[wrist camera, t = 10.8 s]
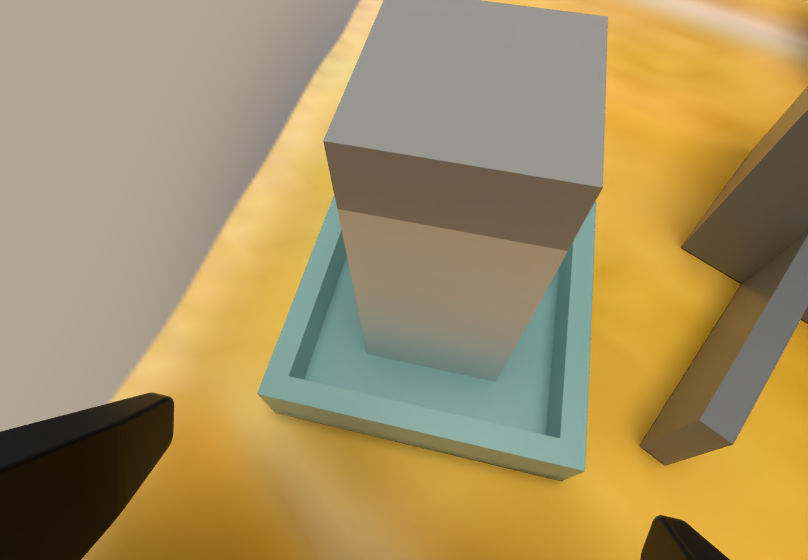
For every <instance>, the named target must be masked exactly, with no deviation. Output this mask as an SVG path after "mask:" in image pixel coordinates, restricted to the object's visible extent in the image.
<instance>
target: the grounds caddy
mask: <svg viewBox="0 0 808 560" xmlns="http://www.w3.org/2000/svg"><path fill="white" fill-rule="evenodd" d="M607 29H608V17H606V16H598V15H590V14H583V13H575V12H567V11H559V10H551V9H543V8H535V7H527V6H520V5H512V4H504V3H496V2H488V1H480V0H384V1H383V3H382V5H381V8H380V10H379V12H378V15H377V17H376V19H375V22H374V24H373V26H372V29H371V31H370V33H369V36H368V38H367V40H366V43H365V45H364V47H363V50H362V52H361V54H360V57H359V59H358V61H357V64H356V66H355V68H354V71H353V73H352V75H351V78H350V80H349V82H348V85H347V87H346V89H345V92H344V94H343V96H342V99H341V101H340V103H339V106H338V108H337V110H336V113H335V115H334V117H333V120H332V122H331V124H330V127H329V129H328V131H327V134H326V136H325V138H324V146H325V151H326V156H327V161H328V166H329V171H330V176H331V181H332V185H333V190H334V195H335V200H336V205H337V210H338V215H339V220H340V225H341V230H342V234H343V239H344V244H345V249H346V254H347V259H348V264H349V269H350V274H351V279H352V284H353V288H354V293H355V298H356V303H357V308H358V313H359V318H360V323H361V328H362V333H363V338H364V342H365V347H366V352H367V354H370V355H374V356H379V357H384V358H388V359H393V360H397V361H402V362H407V363H411V364H416V365H420V366H425V367H429V368H434V369H439V370H443V371H448V372H452V373H457V374H462V375H466V376H471V377H475V378H480V379H485V380H489V381H494V382H496V381H497V379H498V378H499V376H500V374H501V372H502V370H503V368H504V367H505V365H506V363H507V361H508V359H509V358H510V356H511V354H512V352H513V350H514V348H515V347H516V345H517V343H518V341H519V339H520V337H521V336H522V334H523V332H524V330H525V328H526V327H527V325H528V323H529V321H530V319H531V317H532V316H533V314H534V312H535V310H536V308H537V306H538V305H539V303H540V301H541V299H542V297H543V296H544V294H545V292H546V290H547V288H548V286H549V285H550V283H551V281H552V279H553V277H554V275H555V274H556V272H557V270H558V268H559V266H560V265H561V263H562V261H563V259H564V257H565V255H566V254H567V252H568V250H569V248H570V246H571V244H572V243H573V241H574V239H575V237H576V235H577V234H578V232H579V230H580V228H581V226H582V224H583V223H584V221H585V219H586V217H587V215H588V213H589V212H590V210H591V208H592V206H593V204H594V203H595V201H596V199H597V197H598V195H599V193H600V192H601V190H602V188H603V162H604V129H605V95H606V62H607Z"/></svg>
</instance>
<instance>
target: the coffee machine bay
mask: <svg viewBox="0 0 808 560" xmlns="http://www.w3.org/2000/svg"><path fill="white" fill-rule="evenodd" d="M681 248H683V249H685V250H686V251H688V252H690V253H691V254H693V255H695V256H696V257H698V258H700V259H701V260H703V261H705V262H706V263H708V264H710V265H711V266H713V267H715V268H716V269H718V270H720V271H721V272H723V273H725V274H726V275H728V276H730V277H731V278H733V279H735V280H736V281H738V282H740V283H741V286H740V287H739V289H738V290H737V292H736V294H735V295H734V297H733V298H732V300H731V302H730V303H729V305H728V306H727V308H726V310H725V311H724V313H723V314H722V316H721V317H720V319H719V321H718V322H717V324H716V325H715V327H714V329H713V330H712V332H711V333H710V335H709V337H708V338H707V340H706V341H705V343H704V344H703V346H702V348H701V349H700V351H699V352H698V354H697V356H696V357H695V359H694V360H693V362H692V364H691V365H690V367H689V368H688V370H687V371H686V373H685V375H684V376H683V378H682V379H681V381H680V383H679V384H678V386H677V387H676V389H675V391H674V392H673V394H672V395H671V397H670V398H669V400H668V402H667V403H666V405H665V406H664V408H663V410H662V411H661V413H660V414H659V416H658V418H657V419H656V421H655V422H654V424H653V425H652V427H651V429H650V430H649V432H648V433H647V435H646V437H645V438H644V440H643V441H642V443H641V444H640V446H641V447H642V448H643V449H644V450H646V451H647V452H648V453H650V454H651V455H652V456H654V457H655V458H656V459H657V460H659V461H660V462H661V463H663V464H664V465H668V464H672V463H675V462H678V461H681V460H684V459H688V458H691V457H694V456H697V455H700V454H704V453H707V452H710V451H713V450H717V449H720V448H723V447H726V446H729V445H733V444H734V442H735V440H736V438H737V436H738V435H739V433H740V431H741V429H742V427H743V425H744V423H745V422H746V420H747V418H748V416H749V414H750V412H751V410H752V409H753V407H754V405H755V403H756V401H757V399H758V397H759V395H760V394H761V392H762V390H763V388H764V386H765V384H766V382H767V381H768V379H769V377H770V375H771V373H772V371H773V369H774V368H775V366H776V364H777V362H778V360H779V358H780V356H781V355H782V353H783V351H784V349H785V347H786V345H787V343H788V342H789V340H790V338H791V336H792V334H793V332H794V330H795V329H796V327H797V325H798V323H799V321H800V319H802V320H803V321H805V322H807V323H808V87H807V88H806V89H805V90H804V91H803V92H802V94H801V95H800V96H799V97H798V98H797V99H796V100H795V102H794V103H793V104H792V105H791V106H790V107H789V108H788V110H787V111H786V112H785V113H784V114H783V115H782V116H781V118H780V119H779V120H778V121H777V122H776V123H775V124H774V126H773V127H772V128H771V129H770V130H769V131H768V132H767V134H766V135H765V136H764V137H763V138H762V139H761V140H760V142H759V143H758V144H757V145H756V146H755V147H754V149H753V150H752V151H751V152H750V154H749V155H748V156H747V158H746V159H745V161H744V162H743V163H742V165H741V166H740V167H739V169H738V170H737V171H736V173H735V174H734V176H733V177H732V178H731V180H730V181H729V182H728V184H727V185H726V186H725V188H724V189H723V191H722V192H721V193H720V195H719V196H718V197H717V199H716V200H715V201H714V203H713V204H712V206H711V207H710V208H709V210H708V211H707V212H706V214H705V215H704V216H703V218H702V219H701V221H700V222H699V223H698V225H697V226H696V227H695V229H694V230H693V232H692V233H691V234H690V236H689V237H688V238H687V240H686V241H685V242H684V244H683V245H682V247H681Z"/></svg>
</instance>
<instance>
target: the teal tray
mask: <svg viewBox="0 0 808 560" xmlns="http://www.w3.org/2000/svg"><path fill="white" fill-rule="evenodd" d="M595 215H596V202H595V203H594V204H593V206H592V208H591V210H590V212H589V213H588V215H587V217H586V219H585V221H584V223H583V224H582V226H581V228H580V230H579V232H578V234H577V235H576V237H575V239H574V241H573V243H572V244H571V246H570V248H569V250H568V252H567V254H566V255H565V257H564V259H563V261H562V263H561V265H560V266H559V268H558V270H557V272H556V274H555V275H554V277H553V279H552V281H551V283H550V285H549V286H548V288H547V290H546V292H545V294H544V296H543V297H542V299H541V301H540V303H539V305H538V306H537V308H536V310H535V312H534V314H533V316H532V317H531V319H530V321H529V323H528V325H527V327H526V328H525V330H524V332H523V334H522V336H521V337H520V339H519V341H518V343H517V345H516V347H515V348H514V350H513V352H512V354H511V356H510V358H509V359H508V361H507V363H506V365H505V367H504V368H503V370H502V372H501V374H500V376H499V378H498V379H497V381H496V382H494V381H489V380H485V379H480V378H475V377H471V376H466V375H462V374H457V373H452V372H448V371H443V370H439V369H434V368H429V367H425V366H420V365H416V364H411V363H407V362H402V361H397V360H393V359H388V358H384V357H379V356H374V355H370V354H367V352H366V347H365V342H364V338H363V333H362V328H361V323H360V318H359V313H358V308H357V303H356V298H355V293H354V288H353V284H352V279H351V274H350V269H349V264H348V259H347V254H346V249H345V244H344V239H343V234H342V230H341V225H340V220H339V215H338V210H337V205H336V200H335V195H334V197H333V199H332V202H331V205H330V207H329V210H328V212H327V215H326V218H325V220H324V223H323V225H322V228H321V230H320V233H319V236H318V238H317V241H316V243H315V246H314V249H313V251H312V254H311V256H310V259H309V262H308V264H307V267H306V269H305V272H304V274H303V277H302V280H301V282H300V285H299V287H298V290H297V293H296V295H295V298H294V300H293V303H292V305H291V308H290V311H289V313H288V316H287V318H286V321H285V324H284V326H283V329H282V331H281V334H280V337H279V339H278V342H277V344H276V347H275V349H274V352H273V355H272V357H271V360H270V362H269V365H268V368H267V370H266V373H265V375H264V378H263V380H262V383H261V386H260V388H259V391H258V393H257V394H258V395H259V396H260V397H261V398H262V399H263V400H264V401H265V402H266V403H267V404H268V405H269V406H270V407H271V408H272V409H273V410H274V411H275V412H276V413H280V414H284V415H288V416H292V417H296V418H300V419H305V420H309V421H313V422H317V423H321V424H326V425H330V426H334V427H338V428H342V429H346V430H351V431H355V432H359V433H363V434H367V435H371V436H376V437H380V438H384V439H388V440H392V441H396V442H401V443H405V444H409V445H413V446H417V447H422V448H426V449H430V450H434V451H438V452H442V453H447V454H451V455H455V456H459V457H463V458H467V459H472V460H476V461H480V462H484V463H488V464H492V465H497V466H501V467H505V468H509V469H513V470H518V471H522V472H526V473H530V474H534V475H538V476H543V477H547V478H551V479H555V480H559V481H563V480H565V479H568V478H570V477H572V476H575V475H577V474H580V473H582V472H584V471H585V462H586V437H587V413H588V388H589V363H590V339H591V314H592V289H593V265H594V240H595Z"/></svg>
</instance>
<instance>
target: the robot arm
mask: <svg viewBox="0 0 808 560" xmlns="http://www.w3.org/2000/svg"><path fill="white" fill-rule="evenodd" d="M173 427H174V402H173V399H172V398H171V397H169V396H165V395H161V394H157V393H147V394H143V395H139V396H136V397H132V398H128V399H124V400H120V401H116V402H113V403H109V404H105V405H101V406H98V407H93V408H89V409H86V410H82V411H78V412H74V413H70V414H67V415H63V416H59V417H55V418H51V419H47V420H43V421H40V422H36V423H32V424H29V425H24V426H20V427H17V428H13V429H9V430H5V431H1V432H0V560H81V559H82V558H83V557H84V556H85V554H86V553H87V552H88V551H89V550H90V549H91V547H92V546H93V545H94V544H95V543H96V542H97V541H98V539H99V538H100V537H101V536H102V535H103V534H104V533H105V531H106V530H107V529H108V528H109V527H110V526H111V524H112V523H113V522H114V521H115V520H116V518H117V517H118V516H119V515H120V513H121V512H122V511H123V509H124V508H125V507H126V505H127V504H128V503H129V501H130V500H131V499H132V497H133V496H134V494H135V493H136V492H137V490H138V489H139V487H140V486H141V485H142V483H143V482H144V481H145V479H146V478H147V476H148V475H149V474H150V472H151V471H152V469H153V468H154V467H155V465H156V464H157V462H158V461H159V460H160V458H161V457H162V456H163V454H164V453H165V451H166V450H167V449H168V447H169V445H170V443H171V441H172V438H173ZM641 560H729V559H728V558H727V557H726V556H725V555H724V554H722V553H721V552H720V551H719V550H718V549H717V548H715V547H714V546H713V545H712V544H711V543H710V542H708V541H707V540H706V539H705V538H704V537H702V536H701V535H700V534H699V533H698V532H697V531H695V530H694V529H693V528H692V527H691V526H690V525H688V524H687V523H686V522H685V521H683V520H680V519H676V518H671V517H667V516H663V515H659V516H657V517H656V518H655V519H654V520H653V522H652V525H651V528H650V530H649V533H648V536H647V538H646V541H645V544H644V547H643V549H642V553H641Z"/></svg>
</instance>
